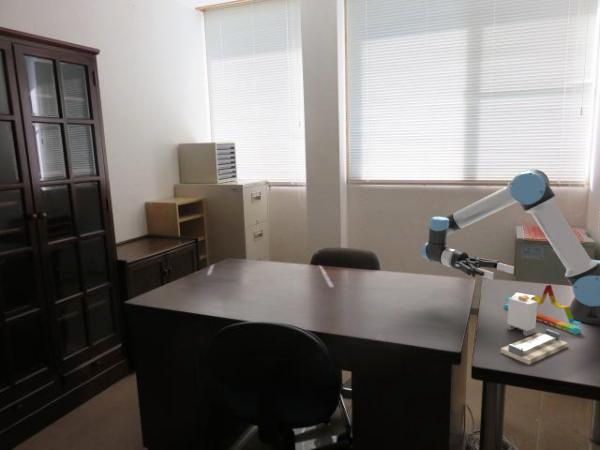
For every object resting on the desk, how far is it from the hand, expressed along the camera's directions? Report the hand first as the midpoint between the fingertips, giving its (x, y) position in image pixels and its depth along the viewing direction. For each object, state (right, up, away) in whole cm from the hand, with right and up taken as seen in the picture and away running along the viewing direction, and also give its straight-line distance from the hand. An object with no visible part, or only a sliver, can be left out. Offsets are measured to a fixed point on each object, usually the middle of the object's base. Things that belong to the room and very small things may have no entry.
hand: (503, 273), depth 171 cm
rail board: (+3, -24, -18) cm, 30 cm away
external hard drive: (+21, -15, +29) cm, 39 cm away
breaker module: (+5, -21, -3) cm, 22 cm away
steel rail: (+2, -22, -18) cm, 29 cm away
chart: (+17, -19, +7) cm, 27 cm away
